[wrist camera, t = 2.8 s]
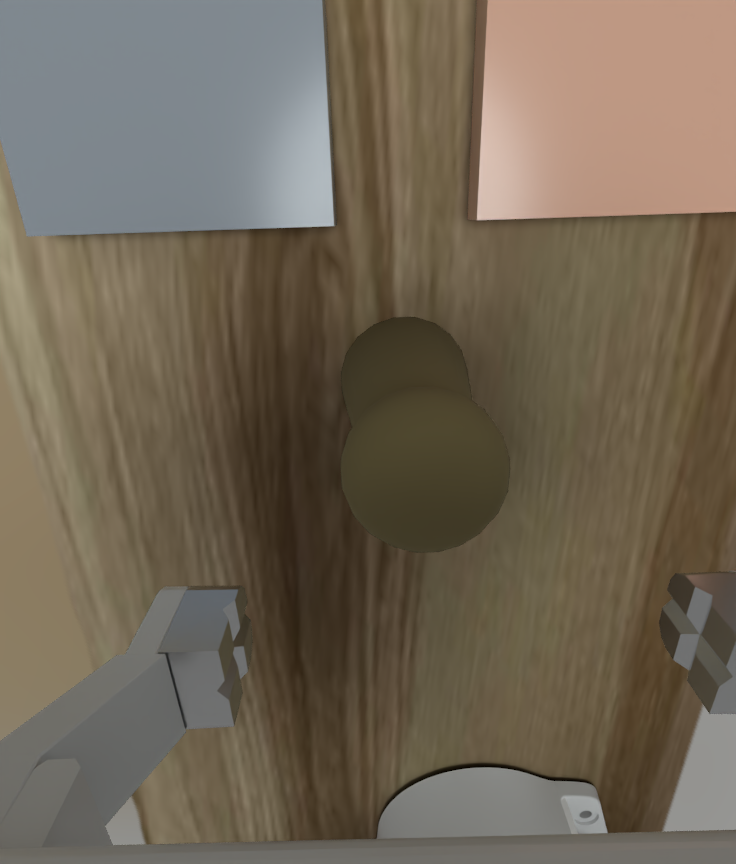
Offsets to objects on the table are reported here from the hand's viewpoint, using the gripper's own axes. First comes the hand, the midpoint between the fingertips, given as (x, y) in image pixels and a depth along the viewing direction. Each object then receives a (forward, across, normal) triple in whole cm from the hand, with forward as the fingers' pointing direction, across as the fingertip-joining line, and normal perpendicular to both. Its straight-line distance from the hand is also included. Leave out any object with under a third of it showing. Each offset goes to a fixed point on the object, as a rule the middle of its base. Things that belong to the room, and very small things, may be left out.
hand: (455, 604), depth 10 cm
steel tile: (+16, -9, +12) cm, 22 cm away
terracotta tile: (+16, +9, +12) cm, 22 cm away
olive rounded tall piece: (+16, 0, -1) cm, 16 cm away
